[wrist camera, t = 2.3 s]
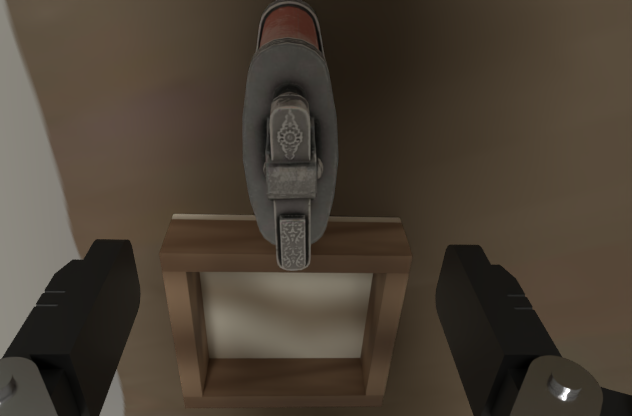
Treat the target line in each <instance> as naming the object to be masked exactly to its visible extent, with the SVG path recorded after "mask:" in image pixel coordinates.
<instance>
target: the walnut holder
mask: <svg viewBox="0 0 632 416" xmlns="http://www.w3.org/2000/svg"><path fill="white" fill-rule="evenodd" d="M159 255H160V261H161V267H162V273H163V279H164V285H165V291H166V297H167V303H168V308H169V314H170V320H171V326H172V332H173V338H174V344H175V350H176V356H177V362H178V368H179V374H180V380H181V386H182V391H183V397H184V403H185V408H263V407H370V406H382V402H383V398H384V393H385V388H386V383H387V378H388V373H389V368H390V364H391V359H392V354H393V349H394V344H395V339H396V334H397V330H398V325H399V320H400V315H401V310H402V305H403V300H404V296H405V291H406V286H407V281H408V276H409V271H410V266H411V262H412V257H413V256H412V253H411V250H410V247H409V244H408V240H407V237H406V234H405V231H404V228H403V225H402V222H401V219H400V218H397V217H333V216H329V219H328V223H327V227H326V230H325V232H324V234H323V236H322V237H321V238H320V239H318V240H317V241H316V242H315V243H313V244H311V259H310V264H309V265H308V267H306V268H304V269H302V270H295V271H290V270H284V269H282V268H280V267H279V265H278V263H277V257H276V245H274V244H271V243H270V242H269V241H267V240H266V239H265V238H264V237H263V235H262V234H261V232H260V230H259V227H258V224H257V221H256V217H255V215H206V214H173V217H172V219H171V222H170V225H169V228H168V230H167V233H166V236H165V239H164V241H163V244H162V247H161V250H160V253H159Z"/></svg>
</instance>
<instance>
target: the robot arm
mask: <svg viewBox="0 0 632 416" xmlns="http://www.w3.org/2000/svg"><path fill="white" fill-rule="evenodd" d="M139 304H140V284H139V279H138V274H137V269H136V264H135V259H134V254H133V249H132V245H131V243H130V241H129V240H109V239H97V240H95V241H94V242H93V244H92V246H91V247H90V249H89V251H88V253H87V254H86V256H85V258H84V260H72V261H70V262H69V263H68V264H67V265H65V266H64V267H63V268H61V269H60V270H59V271H58V272H57V273H55V274H54V276H53V278H52V279H51V281H50V282H49V284H48V286H47V287H46V289H45V293H43V294H42V295H41V297H40V298H39V300H38V301H37V303H36V307H34V308H33V310H32V311H31V313H30V314H29V316H28V317H27V319H26V321H25V322H24V324H23V325H22V327H21V329H20V331H19V332H18V333H17V335H16V337H15V338H14V340H13V342H12V343H11V345H10V346H9V348H8V349H7V351H6V353H5V354H4V356H3V357H2V359H0V416H99V414H100V412H101V409H102V406H103V404H104V401H105V398H106V396H107V393H108V390H109V388H110V385H111V382H112V379H113V377H114V374H115V371H116V369H117V366H118V363H119V361H120V358H121V355H122V353H123V350H124V347H125V344H126V342H127V339H128V336H129V334H130V331H131V328H132V326H133V323H134V320H135V317H136V315H137V312H138V309H139ZM436 309H437V313H438V316H439V319H440V322H441V324H442V327H443V330H444V333H445V336H446V339H447V341H448V344H449V347H450V350H451V353H452V356H453V358H454V361H455V364H456V367H457V370H458V373H459V375H460V378H461V381H462V384H463V387H464V390H465V392H466V395H467V398H468V401H469V404H470V407H471V409H472V412H473V415H474V416H632V396H631V395H628V394H624V393H620V392H616V391H612V390H609V389H606V388H602V387H600V385H599V384H598V382H597V381H596V379H595V378H594V377H593V376H592V375H591V374H590V373H589V372H588V371H587V370H586V369H584V368H583V367H582V366H580V365H579V364H577V363H575V362H573V361H571V360H569V359H566V358H563V357H562V356H561V354H560V353H559V351H558V349H557V348H556V346H555V344H554V342H553V341H552V339H551V337H550V336H549V334H548V332H547V331H546V329H545V327H544V326H543V324H542V322H541V320H540V319H539V317H538V315H537V314H536V312H535V310H532V305H531V304H530V302H529V300H528V298H527V297H525V293H524V292H523V290H522V288H521V287H520V285H519V283H518V282H517V280H516V278H515V277H513V276H512V275H511V274H510V273H509V272H508V271H506V270H505V269H504V268H503V267H502V266H501V265H491V264H490V262H489V260H488V259H487V257H486V255H485V253H484V251H483V249H482V248H481V247H480V246H479V245H449V246H448V247H447V249H446V252H445V256H444V260H443V264H442V268H441V272H440V276H439V280H438V284H437V288H436Z"/></svg>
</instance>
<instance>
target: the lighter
mask: <svg viewBox="0 0 632 416" xmlns="http://www.w3.org/2000/svg"><path fill="white" fill-rule="evenodd" d="M338 159H339V158H338V136H337V116H336V110H335V104H334V99H333V93H332V87H331V81H330V76H329V70H328V66H327V63H326V60H325V55H324V50H323V44H322V38H321V33H320V27H319V22H318V18H317V16H316V13H315V11H314V10H313V9H312V8H311V7H310V5H309V4H307V3H305V2H303V1H302V0H276V1H274V2H273V3H271V4H269V5H268V7H267V8H266V9H265V10H264V11H263V14H262V17H261V20H260V24H259V31H258V39H257V47H256V53H255V54H254V55H253V58H252V61H251V63H250V66H249V71H248V76H247V85H246V93H245V101H244V110H243V163H244V169H245V175H246V181H247V187H248V193H249V198H250V202H251V205H252V208H253V211H254V214H255V217H256V221H257V224H258V227H259V230H260V232H261V234H262V235H263V237H264V238H265V239H266V240H267V241H269V242H270V243H271V244H274V245H276V257H277V263H278V265H279V267H280V268H282V269H284V270H290V271H295V270H302V269H304V268H306V267H308V265H309V264H310V259H311V244H313V243H315V242H316V241H317V240H318V239H320V238H321V237H322V236H323V234H324V232H325V230H326V227H327V223H328V219H329V215H330V211H331V207H332V203H333V199H334V194H335V185H336V176H337V167H338Z"/></svg>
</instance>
